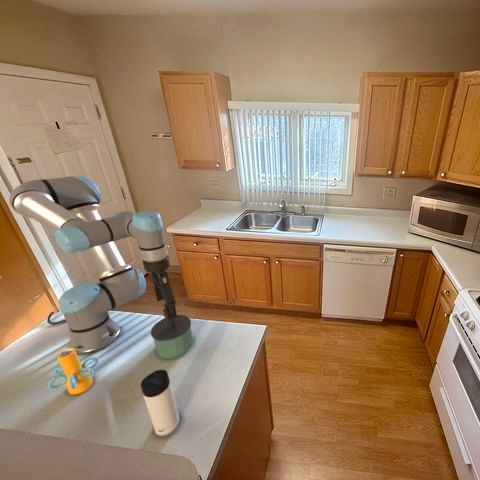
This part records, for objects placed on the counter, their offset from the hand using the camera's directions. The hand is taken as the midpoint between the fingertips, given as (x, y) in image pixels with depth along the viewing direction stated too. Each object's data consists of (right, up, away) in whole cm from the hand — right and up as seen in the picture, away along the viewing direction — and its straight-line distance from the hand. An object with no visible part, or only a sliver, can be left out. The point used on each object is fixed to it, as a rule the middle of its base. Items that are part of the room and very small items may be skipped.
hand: (166, 308), depth 93 cm
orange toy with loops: (-22, -23, -10) cm, 34 cm away
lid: (0, -8, +3) cm, 9 cm away
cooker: (-1, -17, +7) cm, 18 cm away
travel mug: (+12, -29, -19) cm, 37 cm away
